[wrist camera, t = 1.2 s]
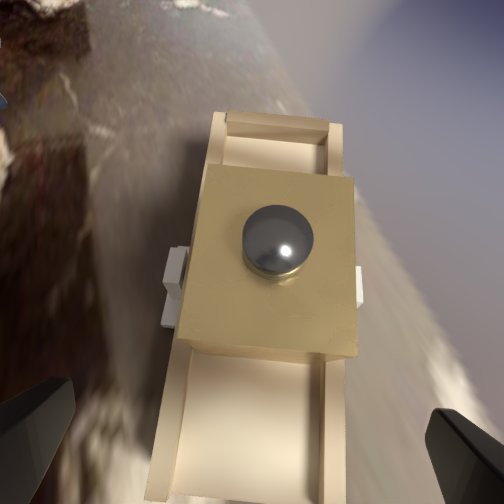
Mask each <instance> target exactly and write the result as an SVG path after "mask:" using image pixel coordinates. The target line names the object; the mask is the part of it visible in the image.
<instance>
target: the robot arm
mask: <svg viewBox="0 0 504 504" xmlns="http://www.w3.org/2000/svg"><path fill="white" fill-rule="evenodd" d="M74 412H75V397H74V389H73V383H72V380H71V379H70V378H68V377H57V376H55V377H50V378H48V379H46V380H44V381H42V382H41V383H39V384H37V385H35V386H33V387H31V388H29V389H27V390H26V391H24V392H22V393H20V394H18V395H16V396H14V397H12V398H11V399H9V400H7V401H5V402H3V403H1V404H0V504H29V502H30V501H31V499H32V497H33V495H34V494H35V492H36V490H37V488H38V487H39V485H40V483H41V481H42V479H43V477H44V475H45V473H46V471H47V469H48V467H49V465H50V463H51V461H52V459H53V457H54V455H55V453H56V451H57V448H58V446H59V444H60V442H61V440H62V438H63V436H64V434H65V432H66V430H67V428H68V426H69V424H70V422H71V420H72V418H73V415H74ZM425 443H426V447H427V450H428V453H429V456H430V459H431V462H432V465H433V468H434V471H435V474H436V477H437V480H438V483H439V486H440V489H441V492H442V495H443V498H444V501H445V504H504V445H503V444H501V443H500V442H499V441H497V440H496V439H494V438H493V437H492V436H490V435H489V434H487V433H486V432H485V431H483V430H482V429H481V428H479V427H478V426H476V425H475V424H474V423H472V422H471V421H469V420H468V419H467V418H465V417H464V416H462V415H461V414H460V413H458V412H457V411H455V410H453V409H445V408H435V409H434V410H433V411H432V414H431V417H430V420H429V423H428V427H427V430H426V433H425Z"/></svg>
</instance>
